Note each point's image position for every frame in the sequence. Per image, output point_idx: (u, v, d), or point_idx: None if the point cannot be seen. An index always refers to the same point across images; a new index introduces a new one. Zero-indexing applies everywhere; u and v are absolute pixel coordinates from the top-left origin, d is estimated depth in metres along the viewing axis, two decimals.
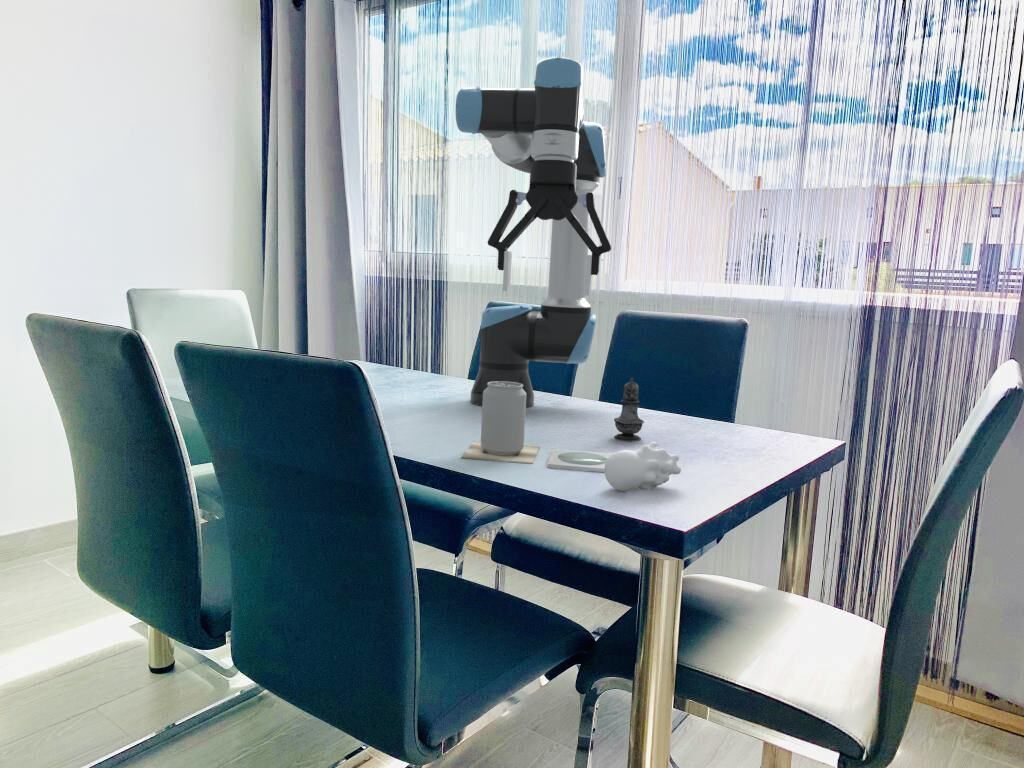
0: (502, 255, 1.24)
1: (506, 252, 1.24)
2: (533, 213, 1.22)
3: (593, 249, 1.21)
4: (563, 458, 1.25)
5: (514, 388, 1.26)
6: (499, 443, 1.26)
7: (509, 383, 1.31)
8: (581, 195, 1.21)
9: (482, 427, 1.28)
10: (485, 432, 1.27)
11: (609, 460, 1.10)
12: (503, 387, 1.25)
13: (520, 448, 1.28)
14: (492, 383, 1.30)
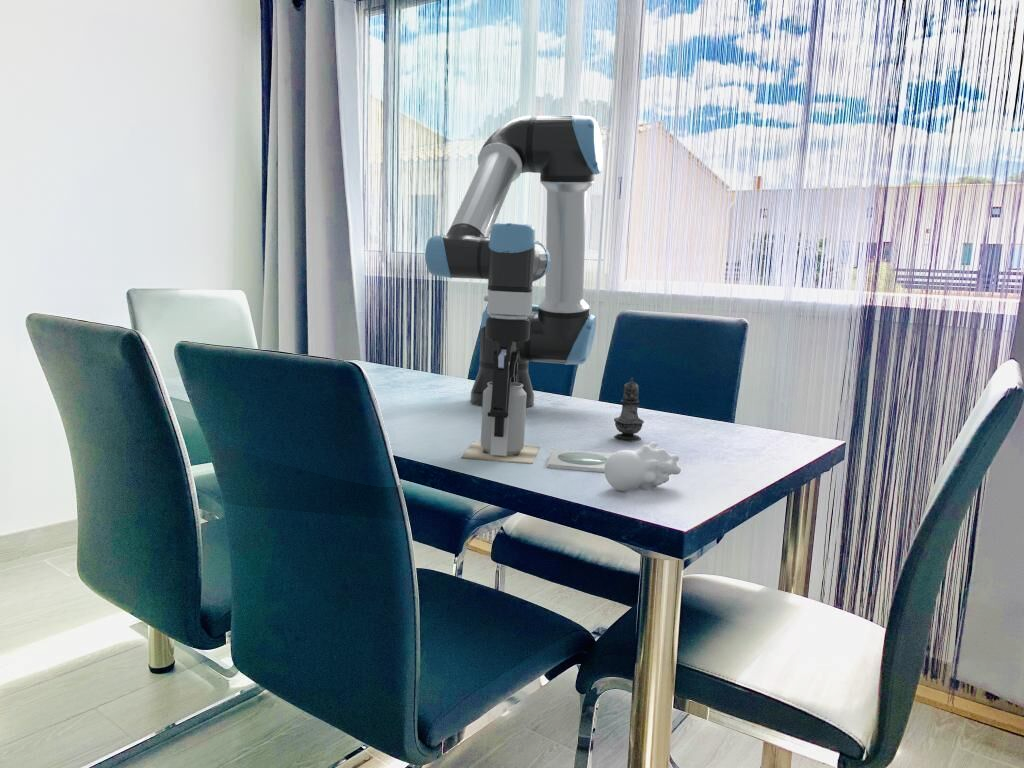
0: None
1: None
2: None
3: None
4: (563, 458, 1.25)
5: (514, 388, 1.26)
6: None
7: None
8: (500, 354, 1.22)
9: (482, 427, 1.28)
10: (485, 432, 1.27)
11: (609, 460, 1.10)
12: None
13: (520, 448, 1.28)
14: (492, 383, 1.30)
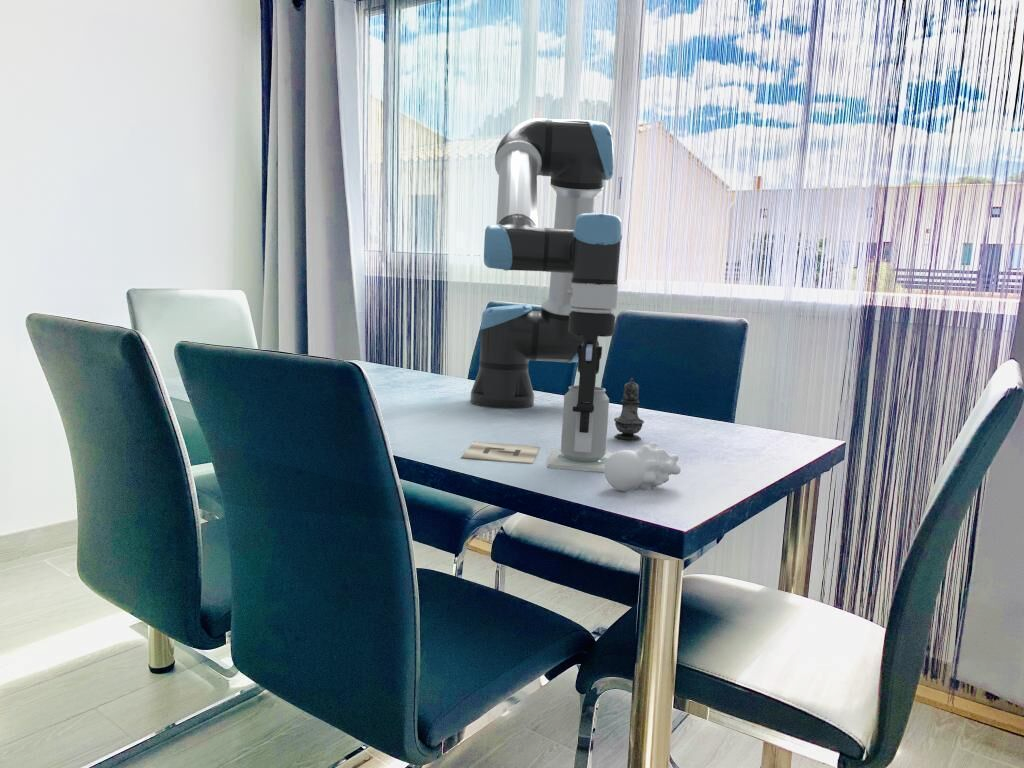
0: None
1: None
2: None
3: None
4: (563, 458, 1.25)
5: (598, 392, 1.22)
6: None
7: None
8: None
9: (563, 432, 1.24)
10: (567, 438, 1.23)
11: (609, 460, 1.10)
12: None
13: (603, 454, 1.24)
14: (573, 387, 1.26)
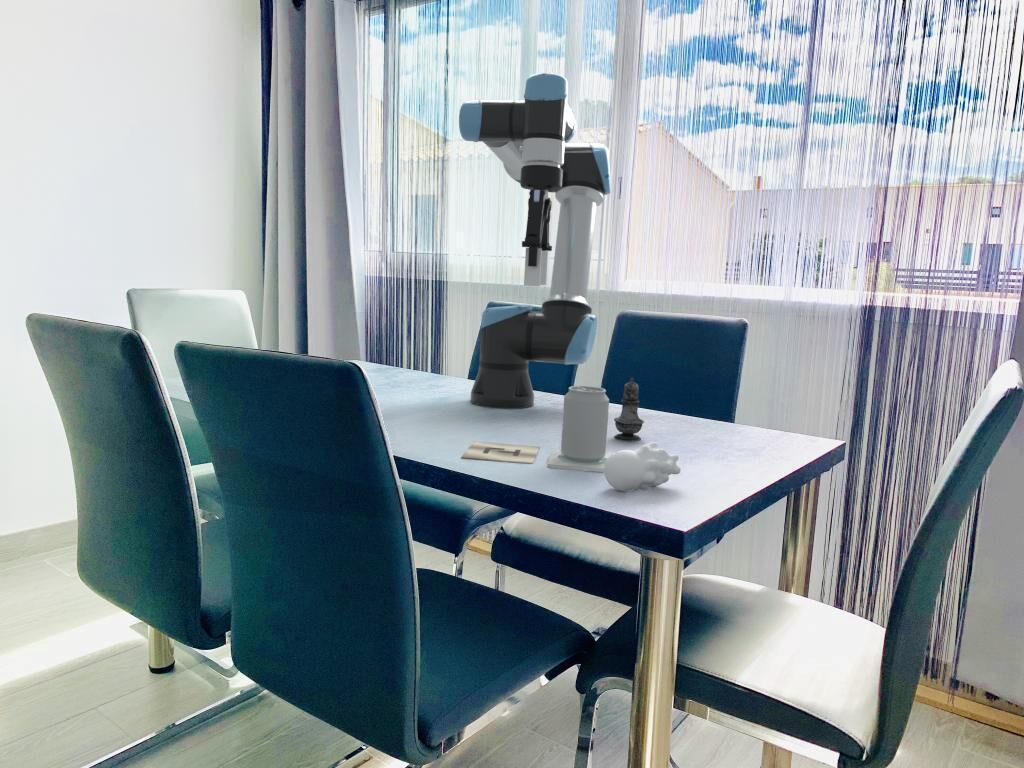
0: None
1: None
2: None
3: None
4: (563, 458, 1.25)
5: (598, 393, 1.22)
6: (583, 450, 1.22)
7: (589, 388, 1.27)
8: None
9: (563, 433, 1.24)
10: (567, 439, 1.23)
11: (609, 460, 1.10)
12: (586, 392, 1.21)
13: (603, 455, 1.24)
14: (573, 388, 1.26)
